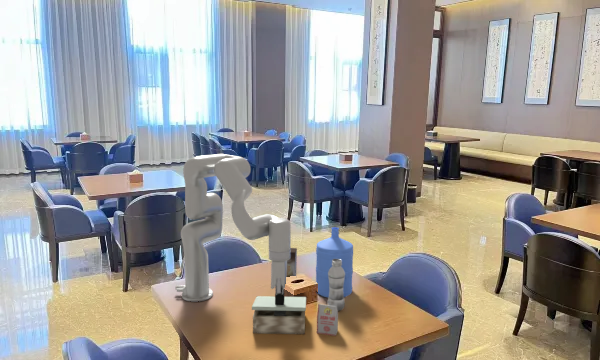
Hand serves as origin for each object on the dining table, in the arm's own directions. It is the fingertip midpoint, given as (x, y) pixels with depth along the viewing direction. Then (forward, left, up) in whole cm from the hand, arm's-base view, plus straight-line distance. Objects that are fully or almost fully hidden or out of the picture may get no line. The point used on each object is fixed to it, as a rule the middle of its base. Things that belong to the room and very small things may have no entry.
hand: (279, 303), depth 159 cm
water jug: (+21, +34, -10) cm, 41 cm away
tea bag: (+17, -1, -10) cm, 20 cm away
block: (0, +3, -9) cm, 9 cm away
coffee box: (0, +41, -10) cm, 42 cm away
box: (0, +4, -10) cm, 10 cm away
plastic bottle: (+21, +17, -10) cm, 28 cm away
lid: (0, +4, -2) cm, 4 cm away
